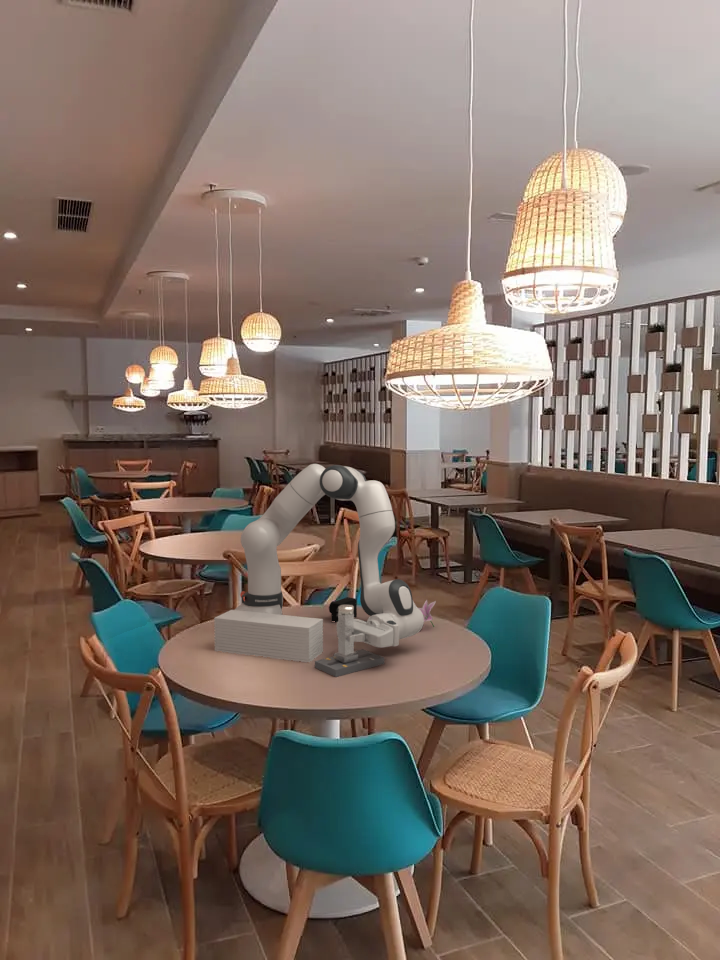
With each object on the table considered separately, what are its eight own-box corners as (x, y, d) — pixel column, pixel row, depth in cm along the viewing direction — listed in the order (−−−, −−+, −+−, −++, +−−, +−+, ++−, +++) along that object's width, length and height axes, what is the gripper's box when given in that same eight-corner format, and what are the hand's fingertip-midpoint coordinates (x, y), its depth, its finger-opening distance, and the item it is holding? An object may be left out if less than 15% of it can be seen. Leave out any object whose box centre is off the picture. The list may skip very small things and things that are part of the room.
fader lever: (344, 663, 212) (344, 609, 211) (333, 658, 216) (333, 606, 215) (358, 659, 215) (358, 606, 214) (347, 655, 219) (347, 603, 218)
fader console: (335, 677, 207) (335, 669, 207) (314, 667, 215) (314, 660, 215) (384, 663, 219) (384, 656, 218) (362, 655, 226) (362, 648, 226)
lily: (413, 625, 265) (403, 603, 261) (444, 613, 263) (434, 592, 260) (416, 644, 254) (405, 622, 250) (448, 632, 252) (437, 610, 248)
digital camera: (344, 615, 274) (344, 596, 274) (356, 617, 271) (356, 598, 271) (328, 621, 265) (328, 602, 265) (341, 623, 262) (341, 604, 262)
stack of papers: (322, 653, 230) (322, 618, 229) (309, 663, 220) (309, 627, 219) (231, 642, 240) (231, 609, 240) (214, 651, 230) (214, 617, 230)
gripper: (357, 611, 231) (322, 619, 222) (402, 625, 215) (365, 634, 207) (357, 631, 232) (322, 639, 223) (402, 647, 216) (365, 656, 207)
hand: (343, 637), depth 215 cm, fingers closed on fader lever, 3 cm apart
